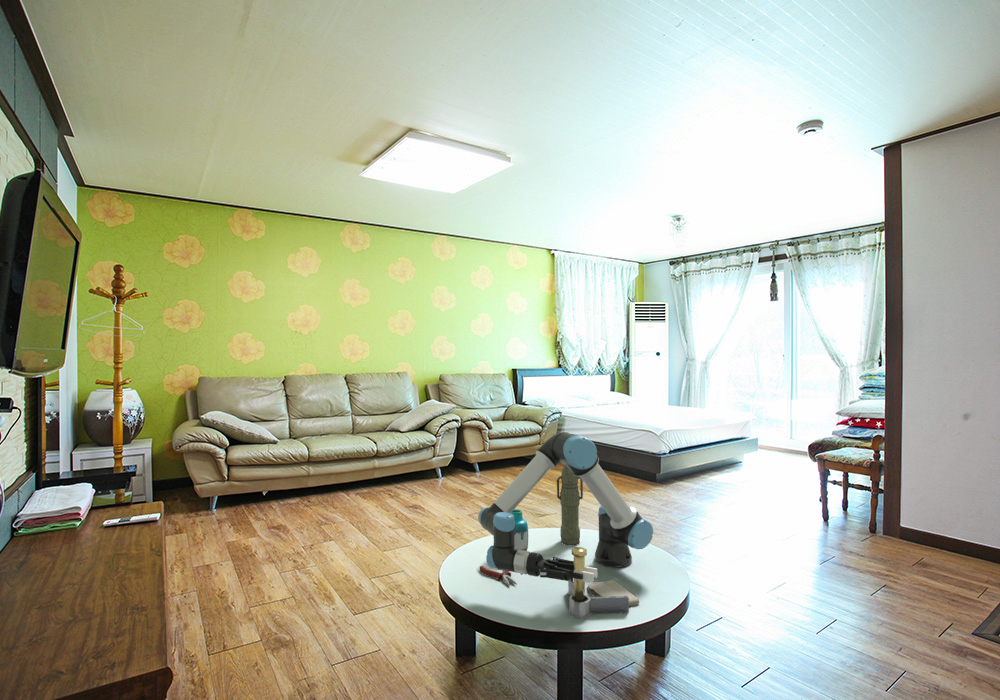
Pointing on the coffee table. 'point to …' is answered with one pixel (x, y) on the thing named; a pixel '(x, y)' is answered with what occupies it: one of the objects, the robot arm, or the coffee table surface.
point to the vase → (520, 531)
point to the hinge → (596, 604)
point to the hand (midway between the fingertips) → (595, 575)
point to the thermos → (569, 506)
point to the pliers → (498, 575)
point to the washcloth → (611, 591)
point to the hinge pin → (579, 565)
